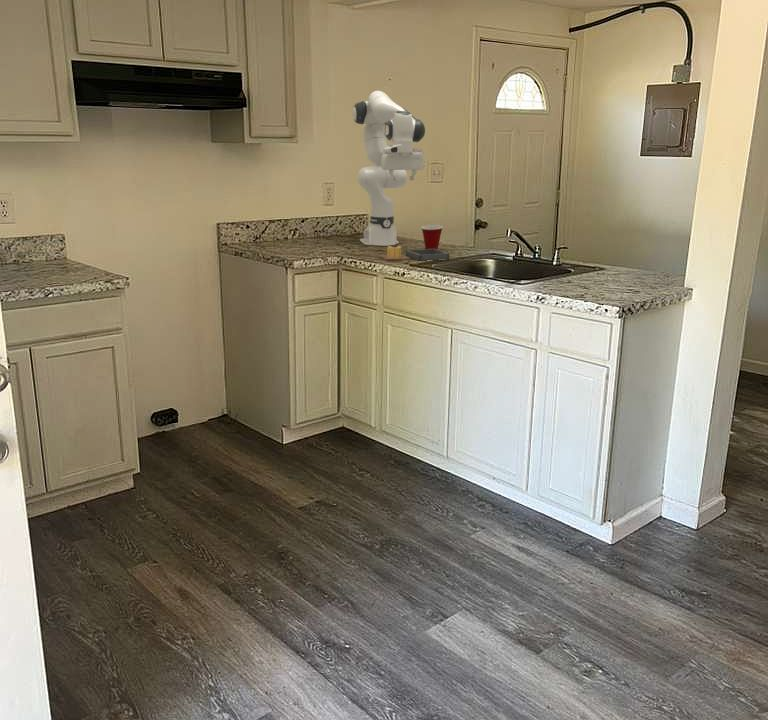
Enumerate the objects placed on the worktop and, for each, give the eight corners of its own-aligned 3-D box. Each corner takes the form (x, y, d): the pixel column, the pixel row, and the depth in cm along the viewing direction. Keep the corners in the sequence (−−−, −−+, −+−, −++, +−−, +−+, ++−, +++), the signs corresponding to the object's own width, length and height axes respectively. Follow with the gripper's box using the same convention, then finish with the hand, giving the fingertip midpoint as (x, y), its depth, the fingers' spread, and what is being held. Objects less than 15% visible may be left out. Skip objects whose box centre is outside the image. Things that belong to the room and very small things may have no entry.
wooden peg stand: (378, 257, 352) (378, 243, 350) (399, 256, 357) (400, 242, 355) (388, 261, 343) (388, 247, 341) (410, 259, 347) (410, 246, 345)
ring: (385, 255, 351) (385, 246, 349) (397, 255, 353) (397, 245, 352) (390, 257, 345) (391, 248, 344) (402, 257, 348) (403, 247, 346)
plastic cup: (415, 250, 374) (416, 225, 371) (432, 248, 380) (433, 224, 377) (429, 253, 366) (430, 228, 362) (446, 251, 372) (447, 226, 369)
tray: (405, 256, 356) (405, 250, 355) (433, 254, 361) (434, 248, 360) (419, 261, 343) (420, 255, 342) (448, 259, 348) (449, 253, 348)
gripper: (420, 148, 350) (419, 179, 354) (379, 148, 342) (379, 180, 345) (426, 148, 344) (426, 180, 348) (385, 148, 336) (385, 180, 340)
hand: (402, 180), depth 347 cm, fingers open, 8 cm apart
